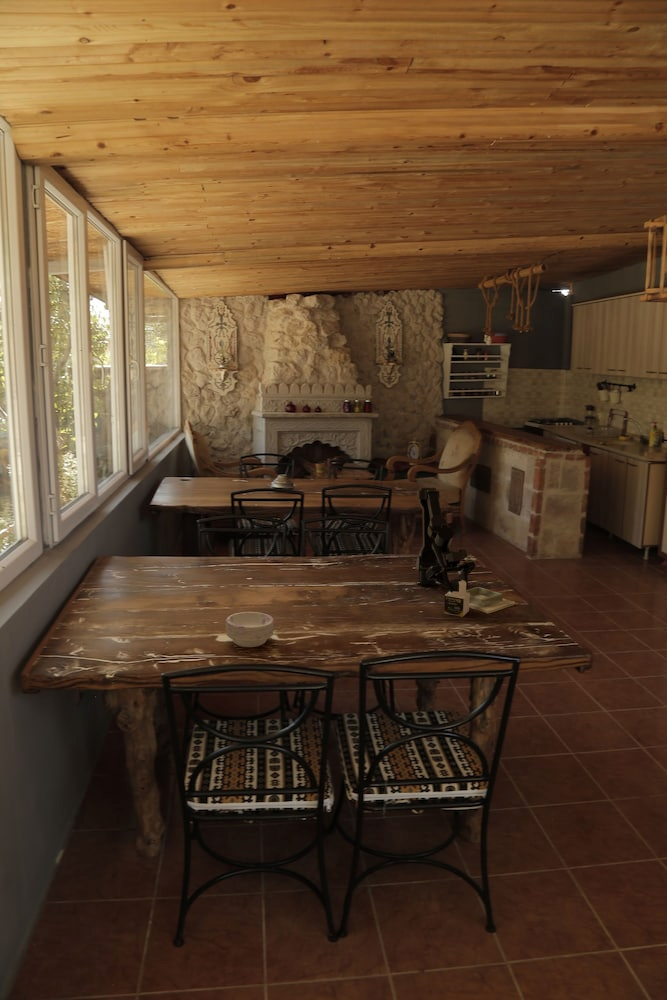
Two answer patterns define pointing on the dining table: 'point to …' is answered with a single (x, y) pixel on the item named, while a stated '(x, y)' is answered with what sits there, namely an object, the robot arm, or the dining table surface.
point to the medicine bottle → (457, 599)
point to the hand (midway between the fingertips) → (459, 590)
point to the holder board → (487, 600)
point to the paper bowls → (249, 628)
